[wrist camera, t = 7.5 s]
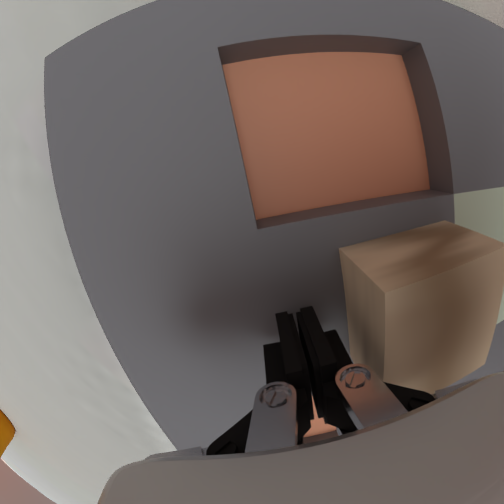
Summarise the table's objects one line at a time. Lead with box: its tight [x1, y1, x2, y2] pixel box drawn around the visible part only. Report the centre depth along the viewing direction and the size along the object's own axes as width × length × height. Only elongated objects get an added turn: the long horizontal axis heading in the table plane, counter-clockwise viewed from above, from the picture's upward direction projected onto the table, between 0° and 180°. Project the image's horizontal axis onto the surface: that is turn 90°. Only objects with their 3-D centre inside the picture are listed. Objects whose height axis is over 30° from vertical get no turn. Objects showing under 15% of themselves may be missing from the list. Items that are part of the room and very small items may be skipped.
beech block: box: [339, 220, 504, 394], centre depth 10 cm, size 6×6×4 cm
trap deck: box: [44, 0, 504, 450], centre depth 13 cm, size 30×34×2 cm
